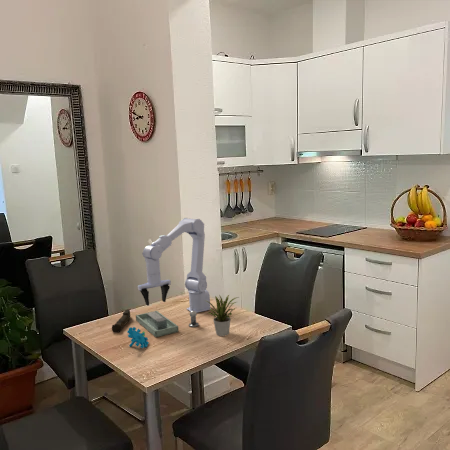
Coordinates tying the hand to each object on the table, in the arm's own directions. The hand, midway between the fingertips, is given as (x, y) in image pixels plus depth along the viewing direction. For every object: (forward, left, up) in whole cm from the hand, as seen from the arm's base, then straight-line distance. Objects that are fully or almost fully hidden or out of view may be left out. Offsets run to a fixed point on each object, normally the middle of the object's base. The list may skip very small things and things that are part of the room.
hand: (155, 303), depth 199 cm
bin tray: (+1, +1, -10) cm, 10 cm away
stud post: (-13, +11, -10) cm, 19 cm away
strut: (+1, +1, -9) cm, 9 cm away
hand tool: (+13, -10, -10) cm, 19 cm away
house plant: (-19, +27, -10) cm, 35 cm away
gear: (+14, +17, -10) cm, 25 cm away
